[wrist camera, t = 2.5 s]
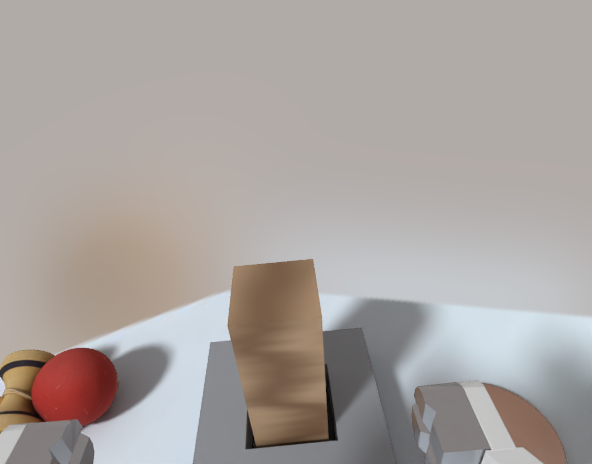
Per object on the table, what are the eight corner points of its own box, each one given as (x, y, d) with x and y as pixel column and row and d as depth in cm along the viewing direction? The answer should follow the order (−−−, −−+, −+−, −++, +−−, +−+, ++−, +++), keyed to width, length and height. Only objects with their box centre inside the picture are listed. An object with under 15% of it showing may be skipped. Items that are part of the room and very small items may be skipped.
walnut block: (321, 394, 34) (312, 259, 26) (329, 456, 30) (321, 316, 22) (260, 400, 34) (233, 266, 26) (260, 463, 30) (227, 325, 22)
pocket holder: (361, 351, 37) (361, 327, 35) (400, 512, 26) (403, 490, 25) (216, 365, 37) (210, 342, 35) (196, 533, 26) (185, 511, 25)
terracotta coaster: (500, 374, 34) (501, 369, 34) (596, 483, 27) (599, 478, 27) (402, 408, 32) (403, 403, 32) (477, 535, 25) (479, 531, 25)
